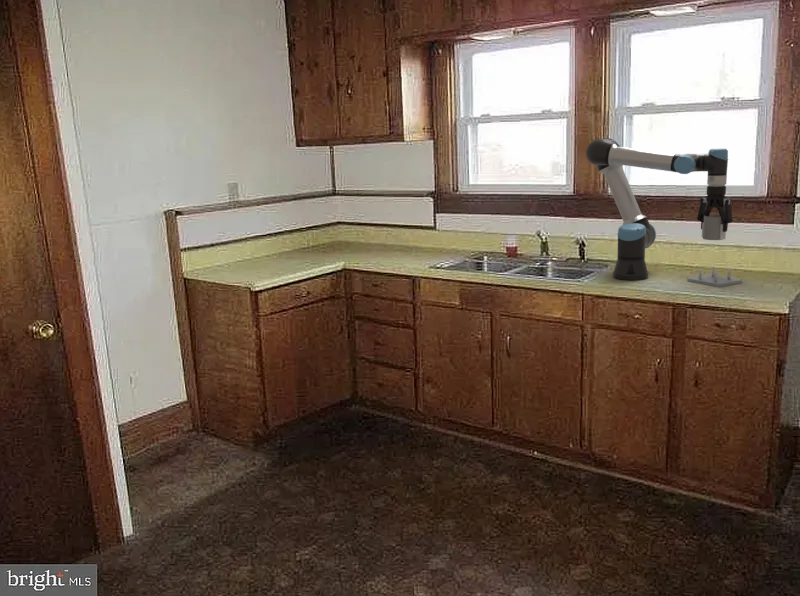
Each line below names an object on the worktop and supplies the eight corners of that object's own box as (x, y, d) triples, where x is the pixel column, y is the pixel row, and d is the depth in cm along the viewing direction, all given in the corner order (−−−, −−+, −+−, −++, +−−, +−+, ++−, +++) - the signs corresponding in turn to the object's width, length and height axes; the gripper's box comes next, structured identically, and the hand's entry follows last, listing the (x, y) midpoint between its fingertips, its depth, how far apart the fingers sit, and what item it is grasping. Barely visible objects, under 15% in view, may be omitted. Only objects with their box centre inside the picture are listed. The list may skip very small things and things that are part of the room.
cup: (714, 240, 302) (715, 217, 300) (698, 238, 310) (699, 215, 307) (728, 238, 306) (729, 215, 304) (712, 236, 313) (713, 214, 311)
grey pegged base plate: (687, 281, 305) (687, 269, 304) (710, 277, 311) (710, 265, 310) (718, 287, 291) (719, 274, 290) (741, 282, 297) (742, 270, 296)
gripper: (689, 185, 310) (687, 236, 315) (732, 187, 292) (729, 241, 297) (701, 183, 314) (698, 234, 319) (744, 185, 296) (740, 239, 301)
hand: (713, 238), depth 308 cm, fingers closed on cup, 8 cm apart
